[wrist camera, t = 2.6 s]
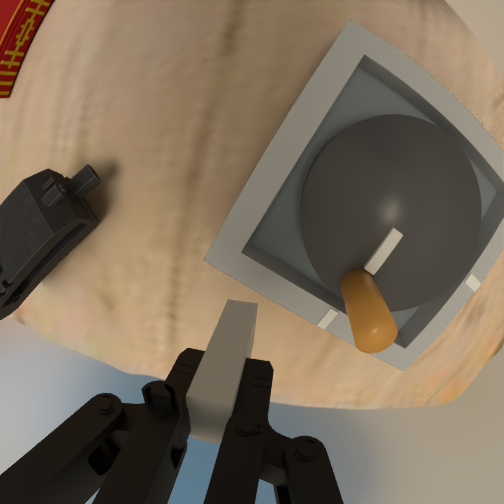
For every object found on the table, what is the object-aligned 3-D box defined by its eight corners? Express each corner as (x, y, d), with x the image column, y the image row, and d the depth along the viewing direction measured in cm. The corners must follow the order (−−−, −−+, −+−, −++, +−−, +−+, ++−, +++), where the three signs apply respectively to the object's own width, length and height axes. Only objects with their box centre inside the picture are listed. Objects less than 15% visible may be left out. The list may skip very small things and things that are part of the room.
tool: (10, 268, 27) (-61, 287, 13) (107, 170, 30) (59, 132, 15) (33, 304, 28) (-31, 343, 14) (134, 210, 31) (98, 195, 16)
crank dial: (363, 80, 16) (404, 41, 8) (489, 193, 17) (555, 220, 9) (264, 238, 21) (245, 293, 13) (398, 321, 22) (429, 390, 14)
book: (12, 97, 22) (-16, 98, 17) (-17, 82, 21) (-39, 83, 17) (73, -23, 15) (49, -34, 11) (32, -19, 14) (12, -25, 10)
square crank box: (340, 41, 17) (350, 18, 13) (504, 184, 18) (533, 193, 14) (218, 240, 24) (202, 261, 20) (392, 342, 26) (403, 372, 21)
